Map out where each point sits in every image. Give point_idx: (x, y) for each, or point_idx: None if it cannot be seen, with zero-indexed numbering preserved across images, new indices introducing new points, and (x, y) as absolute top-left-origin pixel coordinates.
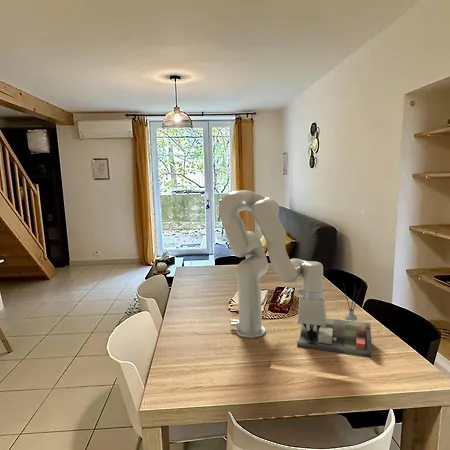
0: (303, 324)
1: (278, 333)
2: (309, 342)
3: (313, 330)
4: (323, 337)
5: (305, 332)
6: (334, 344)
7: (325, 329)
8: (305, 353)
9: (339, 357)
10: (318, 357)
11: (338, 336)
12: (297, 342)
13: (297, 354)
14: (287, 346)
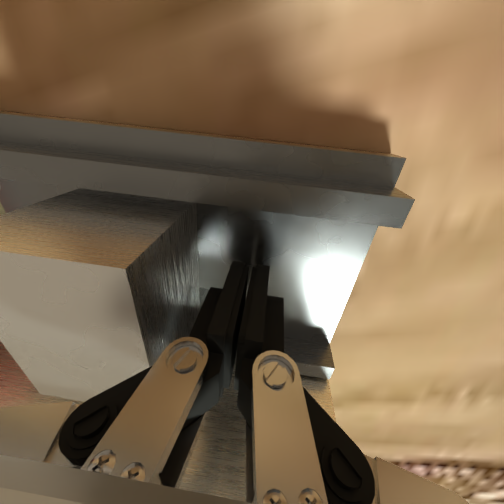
0: (366, 471)
1: (464, 366)
2: (268, 262)
3: (205, 351)
4: (77, 238)
5: (296, 363)
6: None
7: (89, 375)
8: (312, 98)
9: (15, 89)
10: (181, 31)
11: None
12: (408, 197)
13: (406, 48)
14: (464, 209)
